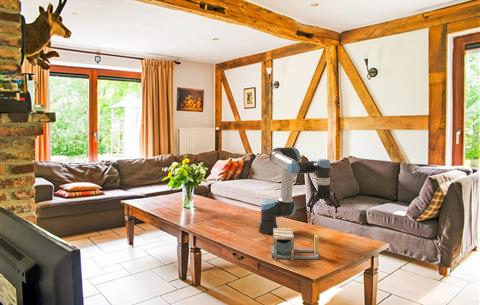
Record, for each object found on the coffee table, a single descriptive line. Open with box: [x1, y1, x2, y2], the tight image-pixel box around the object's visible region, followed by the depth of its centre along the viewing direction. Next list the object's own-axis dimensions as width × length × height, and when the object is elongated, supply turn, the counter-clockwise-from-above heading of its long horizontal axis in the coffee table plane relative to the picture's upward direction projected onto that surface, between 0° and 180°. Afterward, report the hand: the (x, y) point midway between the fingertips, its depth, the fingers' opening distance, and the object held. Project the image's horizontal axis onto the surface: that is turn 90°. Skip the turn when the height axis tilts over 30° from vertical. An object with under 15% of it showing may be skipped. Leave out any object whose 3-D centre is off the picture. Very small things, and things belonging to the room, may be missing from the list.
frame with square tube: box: [271, 234, 320, 260], centre depth 223 cm, size 14×28×12 cm, turn 86°
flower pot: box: [277, 239, 291, 256], centre depth 223 cm, size 9×9×9 cm
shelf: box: [272, 227, 295, 261], centre depth 224 cm, size 19×12×14 cm, turn 176°
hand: (323, 218), depth 224 cm, fingers open, 13 cm apart
